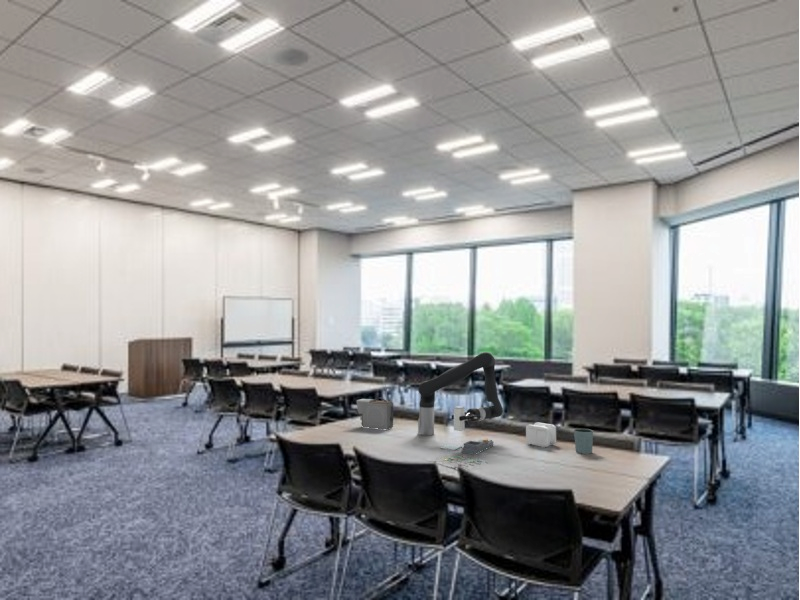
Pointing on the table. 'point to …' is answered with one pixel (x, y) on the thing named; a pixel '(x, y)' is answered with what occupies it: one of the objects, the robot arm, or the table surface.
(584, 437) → the teal cup
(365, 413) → the grey boxy piece
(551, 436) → the cable organizer
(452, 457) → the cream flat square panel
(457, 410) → the block
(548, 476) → the table surface
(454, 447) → the mat
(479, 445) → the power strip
